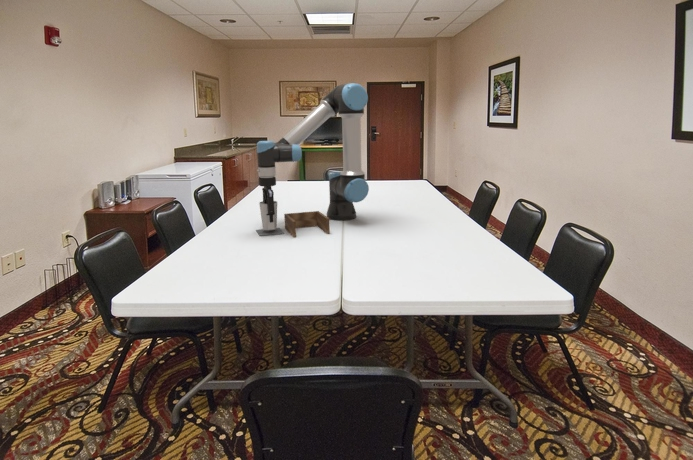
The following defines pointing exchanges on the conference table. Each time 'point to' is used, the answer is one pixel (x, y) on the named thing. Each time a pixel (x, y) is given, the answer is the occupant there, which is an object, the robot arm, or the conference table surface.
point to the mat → (269, 232)
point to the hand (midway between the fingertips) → (269, 227)
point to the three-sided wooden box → (306, 221)
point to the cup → (265, 217)
